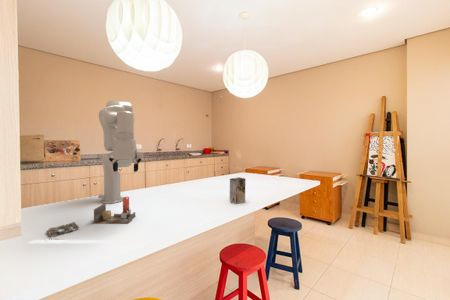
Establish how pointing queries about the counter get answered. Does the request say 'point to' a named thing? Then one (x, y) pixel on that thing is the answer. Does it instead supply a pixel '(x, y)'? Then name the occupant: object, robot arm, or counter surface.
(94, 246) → the counter surface
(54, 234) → the egg carton
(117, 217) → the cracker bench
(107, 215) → the tan wooden knob
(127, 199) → the handle
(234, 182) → the coffee box
